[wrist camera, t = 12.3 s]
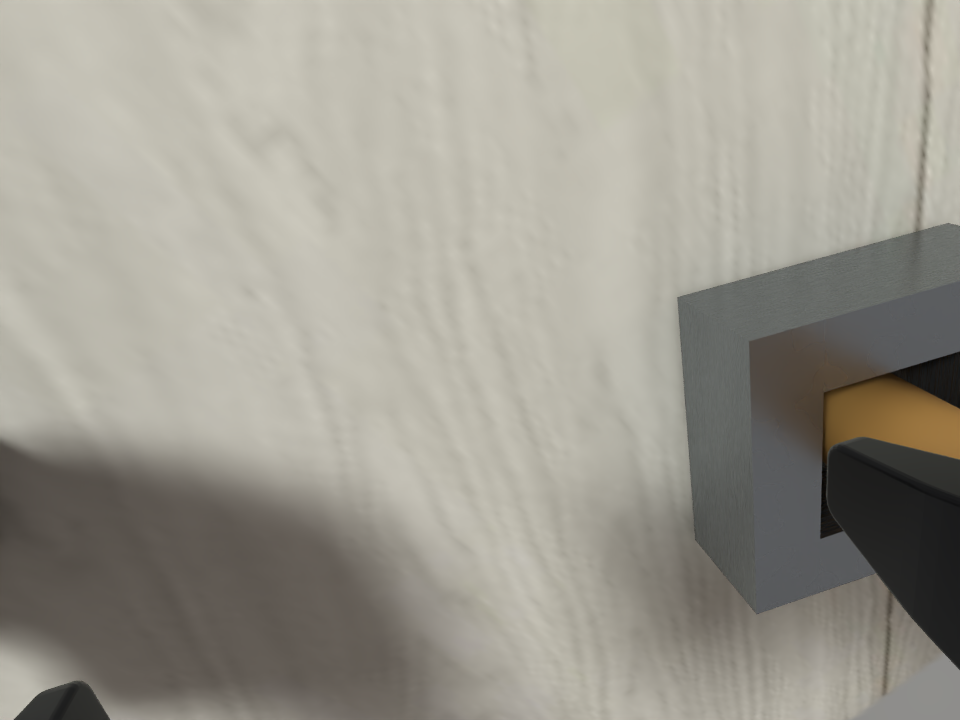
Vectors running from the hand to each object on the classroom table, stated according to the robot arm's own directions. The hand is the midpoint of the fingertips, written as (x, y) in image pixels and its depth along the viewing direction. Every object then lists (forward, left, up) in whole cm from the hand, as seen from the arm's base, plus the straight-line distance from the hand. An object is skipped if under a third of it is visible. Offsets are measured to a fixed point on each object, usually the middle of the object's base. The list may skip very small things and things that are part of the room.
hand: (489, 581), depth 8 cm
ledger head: (+18, -8, -13) cm, 24 cm away
